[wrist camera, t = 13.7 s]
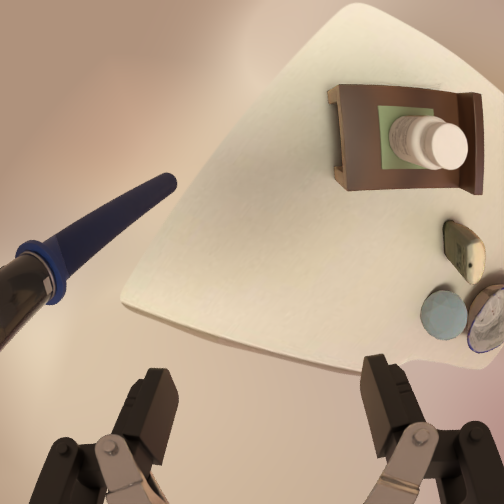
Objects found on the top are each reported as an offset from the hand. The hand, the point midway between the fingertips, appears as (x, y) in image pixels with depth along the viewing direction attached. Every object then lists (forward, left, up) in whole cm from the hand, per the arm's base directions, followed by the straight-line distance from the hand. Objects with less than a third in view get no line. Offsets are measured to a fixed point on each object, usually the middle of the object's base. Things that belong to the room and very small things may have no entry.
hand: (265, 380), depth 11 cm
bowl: (+34, -18, -25) cm, 46 cm away
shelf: (+14, +8, -25) cm, 30 cm away
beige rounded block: (+23, -5, -25) cm, 35 cm away
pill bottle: (+14, +8, -19) cm, 25 cm away
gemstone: (+23, -16, -25) cm, 38 cm away
